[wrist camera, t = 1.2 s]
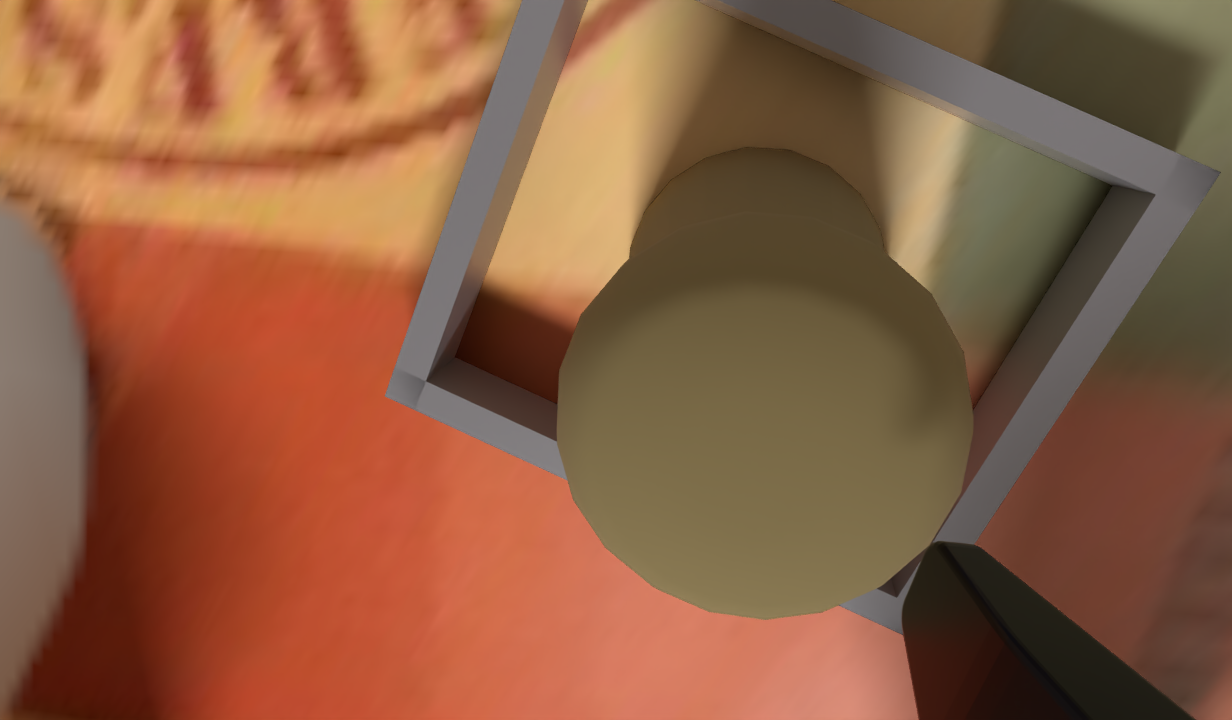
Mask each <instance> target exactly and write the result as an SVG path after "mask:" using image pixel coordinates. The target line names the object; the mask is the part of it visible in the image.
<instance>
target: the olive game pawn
mask: <svg viewBox="0 0 1232 720" xmlns="http://www.w3.org/2000/svg"><path fill="white" fill-rule="evenodd" d="M972 436H973V409H972V402H971V396H970V390H969V383H968V377H967V370H966V364H965V358H964V352H963V350H962V348H961V346H960V344H959V343H958V341H957V339H956V337H955V335H954V334H953V332H952V330H951V328H950V326H949V325H948V323H947V321H946V319H945V317H944V316H943V314H942V312H941V310H940V308H939V307H938V305H937V303H936V301H935V299H934V298H933V296H932V294H931V293H930V292H929V291H928V290H927V289H925V288H924V287H923V286H922V285H921V284H920V283H919V282H918V281H917V280H915V279H914V278H913V277H912V276H911V275H910V274H909V273H907V272H906V271H905V270H904V269H903V268H902V267H901V266H899V265H898V264H897V263H896V262H895V261H894V260H893V259H892V258H890V257H889V256H888V255H887V254H886V253H885V252H884V247H883V241H882V235H881V230H880V228H879V226H878V225H877V223H876V221H875V219H874V217H873V216H872V214H871V212H870V210H869V209H868V207H867V205H866V203H865V201H864V200H863V198H862V196H861V194H860V193H859V192H858V191H856V190H855V189H854V188H853V187H852V186H851V185H850V184H848V183H847V182H846V181H845V180H844V179H843V178H842V177H841V176H839V175H838V174H837V173H836V172H835V171H834V170H833V169H831V168H830V167H829V166H827V165H825V164H822V163H820V162H817V161H815V160H813V159H810V158H808V157H805V156H803V155H801V154H798V153H796V152H793V151H791V150H781V149H767V148H752V147H746V148H742V149H738V150H734V151H730V152H727V153H723V154H719V155H715V156H711V157H707V158H705V159H703V160H702V161H700V162H699V163H697V164H696V165H694V166H692V167H691V168H689V169H688V170H686V171H684V172H683V173H681V174H680V175H678V176H677V177H675V178H673V179H672V180H671V181H670V182H669V183H668V184H667V185H666V187H665V188H664V189H663V190H662V191H661V193H660V194H659V195H658V196H657V197H656V199H655V200H654V201H653V202H652V203H651V205H650V206H649V207H648V208H647V209H646V211H645V212H644V215H643V217H642V220H641V222H640V225H639V227H638V230H637V232H636V235H635V237H634V240H633V242H632V245H631V247H630V256H629V259H628V260H627V261H626V262H625V263H624V264H623V266H622V267H621V268H620V269H619V270H618V271H617V273H616V274H615V275H614V276H613V277H612V278H611V280H610V281H609V282H608V283H607V284H606V286H605V287H604V288H603V289H602V290H601V291H600V293H599V294H598V295H597V296H596V297H595V299H594V300H593V301H592V302H591V303H590V305H589V306H588V307H587V308H586V309H585V310H584V312H583V313H582V314H581V316H580V318H579V321H578V324H577V326H576V329H575V331H574V334H573V336H572V339H571V342H570V344H569V347H568V349H567V352H566V354H565V357H564V360H563V362H562V365H561V367H560V370H559V386H558V410H557V446H558V449H559V453H560V456H561V460H562V463H563V466H564V470H565V473H566V477H567V480H568V484H569V487H570V491H571V494H572V497H573V500H574V502H575V503H576V505H577V506H578V508H579V509H580V511H581V512H582V514H583V515H584V517H585V518H586V520H587V521H588V523H589V524H590V526H591V527H592V529H593V530H594V532H595V533H596V535H597V536H598V537H599V539H600V540H601V542H602V543H603V545H604V546H605V548H606V549H607V550H609V551H610V552H611V553H612V554H614V555H615V556H616V557H617V558H618V559H620V560H621V561H622V562H623V563H625V564H626V565H627V566H628V567H629V568H631V569H632V570H633V571H634V572H635V573H637V574H638V575H639V576H640V577H642V578H643V579H644V580H645V581H646V582H648V583H649V584H650V585H651V586H653V587H655V588H656V589H658V590H660V591H662V592H665V593H667V594H669V595H672V596H674V597H676V598H679V599H681V600H683V601H685V602H688V603H690V604H692V605H695V606H697V607H699V608H701V609H704V610H706V611H708V612H714V613H721V614H728V615H735V616H742V617H749V618H756V619H763V620H768V619H775V618H783V617H791V616H798V615H806V614H814V613H821V612H824V611H826V610H829V609H831V608H833V607H836V606H838V605H840V604H842V603H845V602H847V601H849V600H852V599H854V598H856V597H859V596H861V595H863V594H865V593H868V592H870V591H872V590H875V589H876V588H878V587H880V586H882V585H883V584H885V583H886V582H887V581H888V580H889V579H890V578H892V577H893V576H894V575H895V574H896V573H897V572H899V571H900V570H901V569H902V568H903V567H904V566H906V565H907V564H908V563H909V562H910V561H911V560H913V559H914V558H915V557H916V556H917V555H918V554H920V553H921V552H922V551H923V550H924V549H925V548H927V547H928V546H929V545H930V543H931V542H932V540H933V538H934V537H935V535H936V533H937V532H938V530H939V528H940V527H941V525H942V523H943V522H944V520H945V518H946V517H947V515H948V513H949V512H950V510H951V508H952V507H953V505H954V503H955V502H956V500H957V498H958V497H959V495H960V493H961V491H962V486H963V481H964V476H965V471H966V466H967V461H968V456H969V451H970V446H971V441H972Z"/></svg>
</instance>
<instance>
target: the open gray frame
mask: <svg viewBox="0 0 1232 720" xmlns="http://www.w3.org/2000/svg"><path fill="white" fill-rule="evenodd" d="M696 1H698V2H700V3H702V4H705V5H707V6H709V7H711V8H714V9H716V10H718V11H720V12H723V13H725V14H727V15H729V16H732V17H734V18H736V19H738V20H741V21H743V22H745V23H747V24H750V25H752V26H754V27H756V28H759V29H761V30H763V31H765V32H768V33H770V34H772V35H774V36H777V37H779V38H781V39H783V40H786V41H788V42H790V43H792V44H795V45H797V46H799V47H801V48H804V49H806V50H808V51H811V52H813V53H815V54H817V55H820V56H822V57H824V58H826V59H829V60H831V61H833V62H835V63H838V64H840V65H842V66H844V67H847V68H849V69H851V70H853V71H856V72H858V73H860V74H862V75H865V76H867V77H869V78H871V79H874V80H876V81H878V82H880V83H883V84H885V85H887V86H889V87H892V88H894V89H896V90H898V91H901V92H903V93H905V94H907V95H910V96H912V97H914V98H916V99H919V100H921V101H923V102H925V103H928V104H930V105H932V106H935V107H937V108H939V109H941V110H944V111H946V112H948V113H950V114H953V115H955V116H957V117H959V118H962V119H964V120H966V121H968V122H971V123H973V124H975V125H977V126H980V127H982V128H984V129H986V130H989V131H991V132H993V133H995V134H998V135H1000V136H1002V137H1004V138H1007V139H1009V140H1011V141H1013V142H1016V143H1018V144H1020V145H1022V146H1025V147H1027V148H1029V149H1031V150H1034V151H1036V152H1038V153H1040V154H1043V155H1045V156H1047V157H1049V158H1052V159H1054V160H1056V161H1059V162H1061V163H1063V164H1065V165H1068V166H1070V167H1072V168H1074V169H1077V170H1079V171H1081V172H1083V173H1086V174H1088V175H1090V176H1092V177H1095V178H1097V179H1099V180H1101V181H1104V182H1106V183H1108V184H1110V185H1113V186H1112V188H1111V189H1110V191H1109V193H1108V194H1107V196H1106V197H1105V199H1104V201H1103V202H1102V204H1101V205H1100V207H1099V209H1098V210H1097V212H1096V213H1095V215H1094V217H1093V218H1092V220H1091V222H1090V223H1089V225H1088V226H1087V228H1086V230H1085V231H1084V233H1083V234H1082V236H1081V238H1080V239H1079V241H1078V242H1077V244H1076V246H1075V247H1074V249H1073V250H1072V252H1071V254H1070V255H1069V257H1068V259H1067V260H1066V262H1065V263H1064V265H1063V267H1062V268H1061V270H1060V271H1059V273H1058V275H1057V276H1056V278H1055V279H1054V281H1053V283H1052V284H1051V286H1050V287H1049V289H1048V291H1047V292H1046V294H1045V295H1044V297H1043V299H1042V300H1041V302H1040V304H1039V305H1038V307H1037V308H1036V310H1035V312H1034V313H1033V315H1032V316H1031V318H1030V320H1029V321H1028V323H1027V324H1026V326H1025V328H1024V329H1023V331H1022V332H1021V334H1020V336H1019V337H1018V339H1017V341H1016V342H1015V344H1014V345H1013V347H1012V349H1011V350H1010V352H1009V353H1008V355H1007V357H1006V358H1005V360H1004V361H1003V363H1002V365H1001V366H1000V368H999V369H998V371H997V373H996V374H995V376H994V378H993V379H992V381H991V382H990V384H989V386H988V387H987V389H986V390H985V392H984V394H983V395H982V397H981V398H980V400H979V402H978V403H977V405H976V406H975V408H974V410H973V436H972V441H971V446H970V451H969V456H968V461H967V466H966V471H965V476H964V481H963V486H962V491H961V493H960V495H959V497H958V498H957V500H956V502H955V503H954V505H953V507H952V508H951V510H950V512H949V513H948V515H947V517H946V518H945V520H944V522H943V523H942V525H941V527H940V528H939V530H938V532H937V533H936V535H935V537H934V538H933V540H932V542H931V543H930V545H931V544H932V543H934V542H937V541H948V542H957V543H966V544H973V545H974V544H975V542H976V541H977V539H978V538H979V536H980V535H981V533H982V532H983V530H984V529H985V527H986V526H987V524H988V523H989V521H990V520H991V518H992V517H993V515H994V514H995V512H996V511H997V509H998V508H999V506H1000V505H1001V503H1002V502H1003V500H1004V499H1005V497H1006V496H1007V494H1008V493H1009V491H1010V490H1011V488H1012V487H1013V485H1014V484H1015V482H1016V481H1017V479H1018V478H1019V476H1020V474H1021V473H1022V471H1023V470H1024V468H1025V467H1026V465H1027V464H1028V462H1029V461H1030V459H1031V458H1032V456H1033V455H1034V453H1035V452H1036V450H1037V449H1038V447H1039V446H1040V444H1041V443H1042V441H1043V440H1044V438H1045V437H1046V435H1047V434H1048V432H1049V431H1050V429H1051V428H1052V426H1053V425H1054V423H1055V422H1056V420H1057V419H1058V417H1059V416H1060V414H1061V413H1062V411H1063V410H1064V408H1065V407H1066V405H1067V404H1068V402H1069V401H1070V399H1071V398H1072V396H1073V395H1074V393H1075V392H1076V390H1077V389H1078V387H1079V386H1080V384H1081V383H1082V381H1083V380H1084V378H1085V377H1086V375H1087V373H1088V372H1089V370H1090V369H1091V367H1092V366H1093V364H1094V363H1095V361H1096V360H1097V358H1098V357H1099V355H1100V354H1101V352H1102V351H1103V349H1104V348H1105V346H1106V345H1107V343H1108V342H1109V340H1110V339H1111V337H1112V336H1113V334H1114V333H1115V331H1116V330H1117V328H1118V327H1119V325H1120V324H1121V322H1122V321H1123V319H1124V318H1125V316H1126V315H1127V313H1128V312H1129V310H1130V309H1131V307H1132V306H1133V304H1134V303H1135V301H1136V300H1137V298H1138V297H1139V295H1140V294H1141V292H1142V291H1143V289H1144V288H1145V286H1146V285H1147V283H1148V282H1149V280H1150V279H1151V277H1152V275H1153V274H1154V272H1155V271H1156V269H1157V268H1158V266H1159V265H1160V263H1161V262H1162V260H1163V259H1164V257H1165V256H1166V254H1167V253H1168V251H1169V250H1170V248H1171V247H1172V245H1173V244H1174V242H1175V241H1176V239H1177V238H1178V236H1179V235H1180V233H1181V232H1182V230H1183V229H1184V227H1185V226H1186V224H1187V223H1188V221H1189V220H1190V218H1191V217H1192V215H1193V214H1194V212H1195V211H1196V209H1197V208H1198V206H1199V205H1200V203H1201V202H1202V200H1203V199H1204V197H1205V196H1206V194H1207V193H1208V191H1209V190H1210V188H1211V187H1212V185H1213V184H1214V182H1215V181H1216V179H1217V177H1218V176H1219V174H1220V173H1221V172H1219V171H1217V170H1214V169H1212V168H1210V167H1208V166H1205V165H1203V164H1201V163H1199V162H1196V161H1194V160H1192V159H1189V158H1187V157H1185V156H1183V155H1180V154H1178V153H1176V152H1174V151H1171V150H1169V149H1167V148H1165V147H1162V146H1160V145H1158V144H1155V143H1153V142H1151V141H1149V140H1146V139H1144V138H1142V137H1140V136H1137V135H1135V134H1133V133H1131V132H1128V131H1126V130H1124V129H1122V128H1119V127H1117V126H1115V125H1112V124H1110V123H1108V122H1106V121H1103V120H1101V119H1099V118H1097V117H1094V116H1092V115H1090V114H1088V113H1085V112H1083V111H1081V110H1079V109H1076V108H1074V107H1072V106H1069V105H1067V104H1065V103H1063V102H1060V101H1058V100H1056V99H1054V98H1051V97H1049V96H1047V95H1045V94H1042V93H1040V92H1038V91H1035V90H1033V89H1031V88H1029V87H1026V86H1024V85H1022V84H1020V83H1017V82H1015V81H1013V80H1011V79H1008V78H1006V77H1004V76H1002V75H999V74H997V73H995V72H992V71H990V70H988V69H986V68H983V67H981V66H979V65H977V64H974V63H972V62H970V61H968V60H965V59H963V58H961V57H958V56H956V55H954V54H952V53H949V52H947V51H945V50H943V49H940V48H938V47H936V46H934V45H931V44H929V43H927V42H925V41H922V40H920V39H918V38H915V37H913V36H911V35H909V34H906V33H904V32H902V31H900V30H897V29H895V28H893V27H891V26H888V25H886V24H884V23H882V22H879V21H877V20H875V19H872V18H870V17H868V16H866V15H863V14H861V13H859V12H857V11H854V10H852V9H850V8H848V7H845V6H843V5H841V4H838V3H836V2H834V1H832V0H696ZM587 2H588V0H522V3H521V6H520V8H519V11H518V14H517V17H516V20H515V23H514V26H513V29H512V32H511V34H510V37H509V40H508V43H507V46H506V49H505V52H504V55H503V57H502V60H501V63H500V66H499V69H498V72H497V75H496V78H495V80H494V83H493V86H492V89H491V92H490V95H489V98H488V101H487V103H486V106H485V109H484V112H483V115H482V118H481V121H480V124H479V126H478V129H477V132H476V135H475V138H474V141H473V144H472V147H471V149H470V152H469V155H468V158H467V161H466V164H465V167H464V170H463V173H462V175H461V178H460V181H459V184H458V187H457V190H456V193H455V196H454V198H453V201H452V204H451V207H450V210H449V213H448V216H447V219H446V221H445V224H444V227H443V230H442V233H441V236H440V239H439V242H438V244H437V247H436V250H435V253H434V256H433V259H432V262H431V265H430V267H429V270H428V273H427V276H426V279H425V282H424V285H423V288H422V290H421V293H420V296H419V299H418V302H417V305H416V308H415V311H414V314H413V316H412V319H411V322H410V325H409V328H408V331H407V334H406V337H405V339H404V342H403V345H402V348H401V351H400V354H399V357H398V360H397V362H396V365H395V368H394V371H393V374H392V377H391V380H390V383H389V385H388V388H387V391H386V394H385V397H388V398H390V399H392V400H394V401H396V402H398V403H401V404H403V405H405V406H407V407H409V408H411V409H414V410H416V411H418V412H420V413H422V414H424V415H427V416H429V417H431V418H433V419H435V420H437V421H440V422H442V423H444V424H446V425H448V426H451V427H453V428H455V429H457V430H459V431H461V432H464V433H466V434H468V435H470V436H472V437H474V438H477V439H479V440H481V441H483V442H485V443H487V444H490V445H492V446H494V447H496V448H498V449H500V450H503V451H505V452H507V453H509V454H511V455H513V456H516V457H518V458H520V459H522V460H524V461H526V462H529V463H531V464H533V465H535V466H537V467H539V468H542V469H544V470H546V471H548V472H550V473H553V474H555V475H557V476H559V477H561V478H563V479H566V480H567V477H566V473H565V470H564V466H563V463H562V460H561V456H560V453H559V449H558V446H557V410H558V404H556V403H553V402H551V401H549V400H547V399H545V398H543V397H540V396H538V395H536V394H534V393H532V392H529V391H527V390H525V389H523V388H521V387H519V386H516V385H514V384H512V383H510V382H508V381H505V380H503V379H501V378H499V377H497V376H495V375H492V374H490V373H488V372H486V371H484V370H481V369H479V368H477V367H475V366H473V365H471V364H468V363H466V362H464V361H462V360H460V359H457V358H455V355H456V353H457V350H458V347H459V345H460V342H461V339H462V337H463V334H464V331H465V329H466V326H467V323H468V321H469V318H470V315H471V313H472V310H473V307H474V304H475V302H476V299H477V296H478V294H479V291H480V288H481V286H482V283H483V280H484V278H485V275H486V272H487V270H488V267H489V264H490V262H491V259H492V256H493V254H494V251H495V248H496V245H497V243H498V240H499V237H500V235H501V232H502V229H503V227H504V224H505V221H506V219H507V216H508V213H509V211H510V208H511V205H512V203H513V200H514V197H515V195H516V192H517V189H518V187H519V184H520V181H521V178H522V176H523V173H524V170H525V168H526V165H527V162H528V160H529V157H530V154H531V152H532V149H533V146H534V144H535V141H536V138H537V136H538V133H539V130H540V128H541V125H542V122H543V119H544V117H545V114H546V111H547V109H548V106H549V103H550V101H551V98H552V95H553V93H554V90H555V87H556V85H557V82H558V79H559V77H560V74H561V71H562V69H563V66H564V63H565V61H566V58H567V55H568V52H569V50H570V47H571V44H572V42H573V39H574V36H575V34H576V31H577V28H578V26H579V23H580V20H581V18H582V15H583V12H584V10H585V7H586V4H587ZM930 545H929V546H930ZM929 546H928V547H929ZM928 547H927V548H928ZM927 548H925V549H924V550H923V551H922V552H921V553H920V554H918V555H917V556H916V557H915V558H914V559H913V560H911V561H910V562H909V563H908V564H907V565H906V566H904V567H903V568H902V569H901V570H900V571H899V572H897V573H896V574H895V575H894V576H893V577H892V578H890V579H889V580H888V581H887V582H886V583H885V584H883V585H882V586H880V587H878V588H876V589H875V590H872V591H870V592H868V593H865V594H863V595H861V596H859V597H856V598H854V599H852V600H849V601H847V602H845V603H842V604H840V605H839V606H841V607H843V608H845V609H848V610H850V611H852V612H854V613H856V614H859V615H861V616H863V617H865V618H867V619H869V620H872V621H874V622H876V623H878V624H880V625H882V626H885V627H887V628H889V629H891V630H893V631H895V632H898V633H900V634H902V635H903V630H902V619H901V616H902V607H903V603H904V600H905V597H906V595H907V593H908V590H909V588H910V586H911V583H912V581H913V578H914V576H915V574H916V571H917V569H918V567H919V564H920V562H921V560H922V557H923V555H924V553H925V551H926V549H927Z"/></svg>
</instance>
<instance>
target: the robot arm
mask: <svg viewBox="0 0 1232 720" xmlns="http://www.w3.org/2000/svg"><path fill="white" fill-rule="evenodd" d="M901 619H902V630H903V636H904V641H905V647H906V652H907V658H908V663H909V669H910V674H911V680H912V685H913V691H914V696H915V702H916V707H917V713H918V718H919V720H1196V719H1195V718H1193V717H1192V716H1191V715H1190V714H1188V713H1187V712H1186V711H1185V710H1183V709H1182V708H1181V707H1179V706H1178V705H1177V704H1176V703H1174V702H1173V701H1172V700H1171V699H1169V698H1168V697H1167V696H1166V695H1164V694H1163V693H1162V692H1161V691H1159V690H1158V689H1157V688H1156V687H1154V686H1153V685H1152V684H1151V683H1149V682H1148V681H1147V680H1146V679H1144V678H1143V677H1142V676H1141V675H1139V674H1138V673H1137V672H1136V671H1134V670H1133V669H1132V668H1131V667H1129V666H1128V665H1127V664H1126V663H1124V662H1123V661H1122V660H1121V659H1119V658H1118V657H1117V656H1116V655H1114V654H1113V653H1112V652H1111V651H1109V650H1108V649H1107V648H1106V647H1104V646H1103V645H1102V644H1101V643H1099V642H1098V641H1097V640H1096V639H1094V638H1093V637H1092V636H1091V635H1089V634H1088V633H1087V632H1086V631H1084V630H1083V629H1082V628H1081V627H1079V626H1078V625H1077V624H1076V623H1074V622H1073V621H1072V620H1071V619H1069V618H1068V617H1067V616H1066V615H1064V614H1063V613H1062V612H1061V611H1059V610H1058V609H1057V608H1056V607H1054V606H1053V605H1052V604H1051V603H1049V602H1048V601H1047V600H1046V599H1044V598H1043V597H1042V596H1041V595H1039V594H1038V593H1037V592H1036V591H1034V590H1033V589H1032V588H1031V587H1029V586H1028V585H1027V584H1026V583H1024V582H1023V581H1022V580H1021V579H1019V578H1018V577H1017V576H1016V575H1014V574H1013V573H1012V572H1010V571H1009V570H1008V569H1007V568H1005V567H1004V566H1003V565H1002V564H1000V563H999V562H998V561H997V560H995V559H994V558H993V557H992V556H990V555H989V554H988V553H987V552H985V551H984V550H983V549H981V548H980V547H978V546H976V545H973V544H966V543H957V542H948V541H937V542H934V543H932V544H931V545H930V546H929V547H928V548H927V549H926V551H925V553H924V555H923V557H922V560H921V562H920V564H919V567H918V569H917V571H916V574H915V576H914V578H913V581H912V583H911V586H910V588H909V590H908V593H907V595H906V597H905V600H904V603H903V607H902V616H901Z"/></svg>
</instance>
